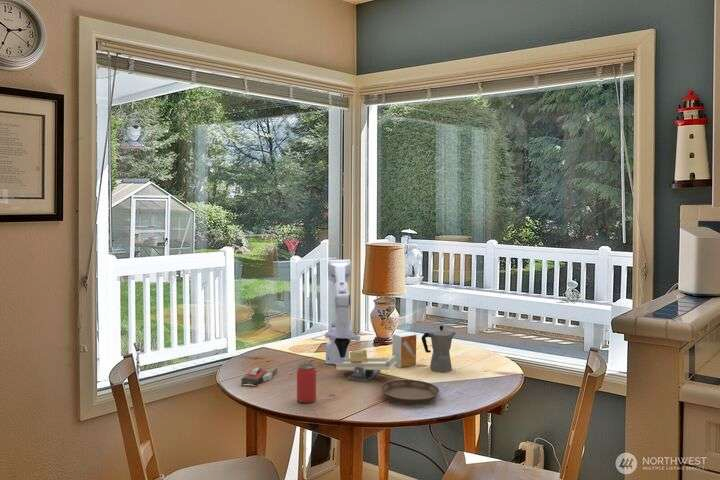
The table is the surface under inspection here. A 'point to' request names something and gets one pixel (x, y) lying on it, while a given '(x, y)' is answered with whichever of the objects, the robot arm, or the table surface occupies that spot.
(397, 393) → the plant saucer
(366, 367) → the beam
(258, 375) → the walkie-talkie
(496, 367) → the table surface
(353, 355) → the brass block
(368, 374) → the pivot stand
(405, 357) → the small box
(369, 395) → the table surface
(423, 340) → the coffeepot
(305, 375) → the beer can
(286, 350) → the table surface
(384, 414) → the table surface
